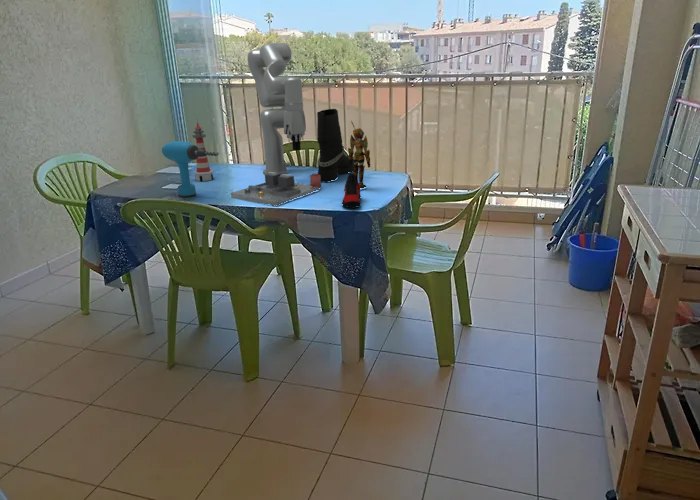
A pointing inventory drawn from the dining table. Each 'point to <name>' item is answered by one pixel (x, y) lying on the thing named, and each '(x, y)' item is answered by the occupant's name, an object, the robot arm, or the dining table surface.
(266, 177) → the dark grey cube
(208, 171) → the miniature lighthouse
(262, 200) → the panel
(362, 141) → the figurine
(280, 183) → the grey cube
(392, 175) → the dining table surface
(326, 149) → the boot
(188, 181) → the power drill
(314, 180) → the lockout cap
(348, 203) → the athletic shoe
